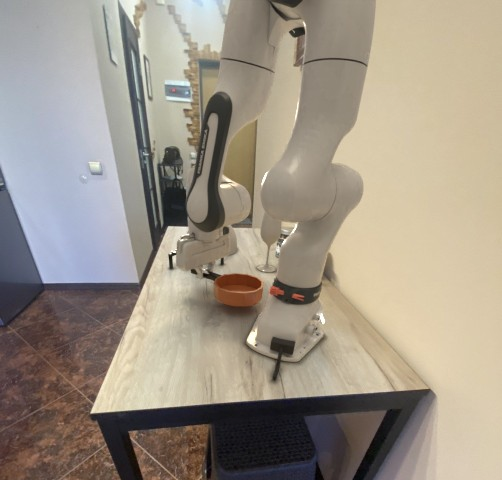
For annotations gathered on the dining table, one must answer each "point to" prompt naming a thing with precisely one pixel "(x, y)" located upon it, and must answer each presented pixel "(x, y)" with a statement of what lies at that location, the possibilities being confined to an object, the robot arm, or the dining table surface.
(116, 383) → the dining table surface
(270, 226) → the wineglass
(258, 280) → the pan
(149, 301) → the dining table surface
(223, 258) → the rack
